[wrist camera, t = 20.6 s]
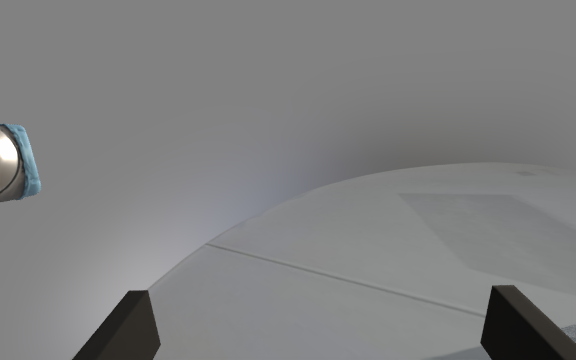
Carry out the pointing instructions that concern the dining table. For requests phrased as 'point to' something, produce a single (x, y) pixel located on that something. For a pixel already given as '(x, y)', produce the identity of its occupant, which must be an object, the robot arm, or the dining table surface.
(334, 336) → the dining table surface
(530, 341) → the robot arm
